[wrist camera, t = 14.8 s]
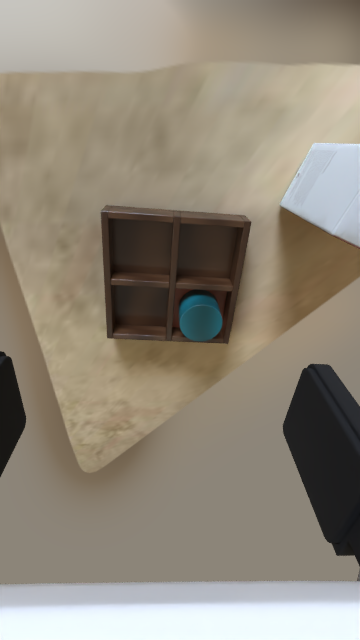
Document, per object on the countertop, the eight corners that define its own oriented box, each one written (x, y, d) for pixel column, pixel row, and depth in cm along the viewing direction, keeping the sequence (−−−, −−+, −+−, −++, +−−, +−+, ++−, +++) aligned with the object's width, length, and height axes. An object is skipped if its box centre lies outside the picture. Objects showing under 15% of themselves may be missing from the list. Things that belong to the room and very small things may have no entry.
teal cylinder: (177, 322, 34) (178, 340, 31) (180, 287, 32) (181, 303, 29) (214, 324, 34) (219, 342, 31) (220, 289, 32) (225, 306, 29)
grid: (110, 326, 35) (107, 338, 33) (105, 205, 28) (100, 210, 26) (224, 331, 36) (228, 343, 33) (245, 215, 29) (251, 221, 27)
